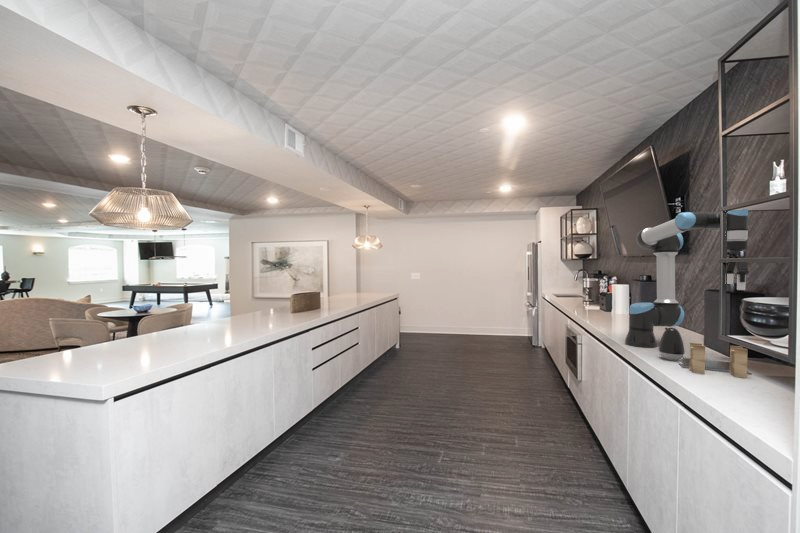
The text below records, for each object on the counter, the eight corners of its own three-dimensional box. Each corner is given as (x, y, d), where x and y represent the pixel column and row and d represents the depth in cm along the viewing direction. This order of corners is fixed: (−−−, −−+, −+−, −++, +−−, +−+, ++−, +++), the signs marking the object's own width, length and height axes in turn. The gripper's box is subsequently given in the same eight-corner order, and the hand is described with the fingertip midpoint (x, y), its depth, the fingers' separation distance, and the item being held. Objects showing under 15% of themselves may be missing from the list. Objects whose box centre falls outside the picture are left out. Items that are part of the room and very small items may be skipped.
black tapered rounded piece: (676, 357, 197) (676, 326, 197) (689, 362, 187) (690, 329, 186) (654, 356, 198) (654, 325, 198) (665, 361, 188) (666, 329, 187)
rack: (689, 369, 174) (689, 342, 174) (741, 374, 167) (742, 346, 167) (693, 372, 169) (693, 345, 169) (746, 378, 162) (747, 349, 162)
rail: (682, 364, 181) (682, 356, 181) (743, 370, 173) (744, 362, 172) (684, 366, 178) (684, 358, 178) (746, 371, 170) (746, 363, 170)
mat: (678, 364, 183) (678, 363, 183) (744, 370, 174) (744, 369, 174) (682, 367, 177) (682, 367, 177) (751, 374, 167) (751, 373, 167)
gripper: (716, 242, 190) (715, 287, 191) (736, 239, 167) (735, 290, 168) (735, 241, 187) (734, 287, 188) (759, 239, 164) (758, 291, 165)
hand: (735, 289), depth 178 cm, fingers open, 13 cm apart
